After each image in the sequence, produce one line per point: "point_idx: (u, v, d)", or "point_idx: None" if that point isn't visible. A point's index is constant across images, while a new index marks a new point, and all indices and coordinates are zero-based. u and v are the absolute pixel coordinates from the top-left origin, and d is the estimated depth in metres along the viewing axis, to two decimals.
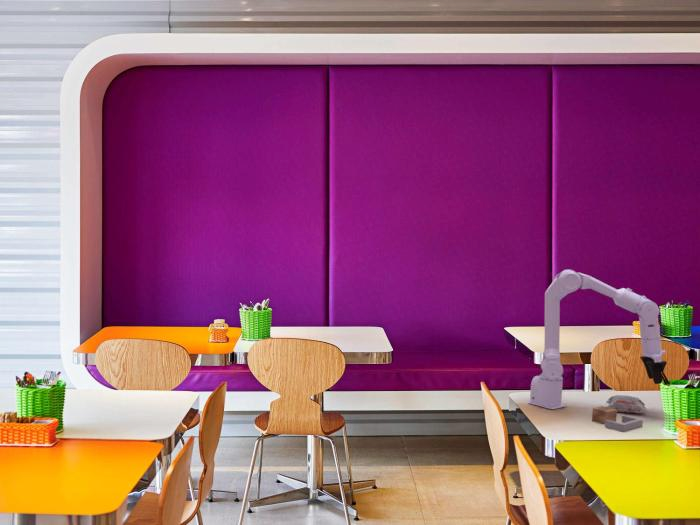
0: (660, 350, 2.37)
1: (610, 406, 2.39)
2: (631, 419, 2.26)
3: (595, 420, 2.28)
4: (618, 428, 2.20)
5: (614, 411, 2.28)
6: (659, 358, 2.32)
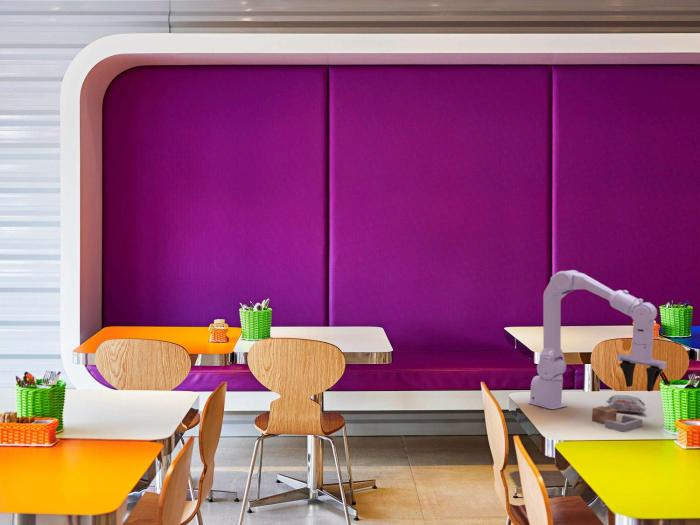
0: None
1: (610, 406, 2.40)
2: (631, 419, 2.26)
3: (595, 420, 2.28)
4: (618, 428, 2.20)
5: (614, 411, 2.28)
6: (665, 364, 2.22)
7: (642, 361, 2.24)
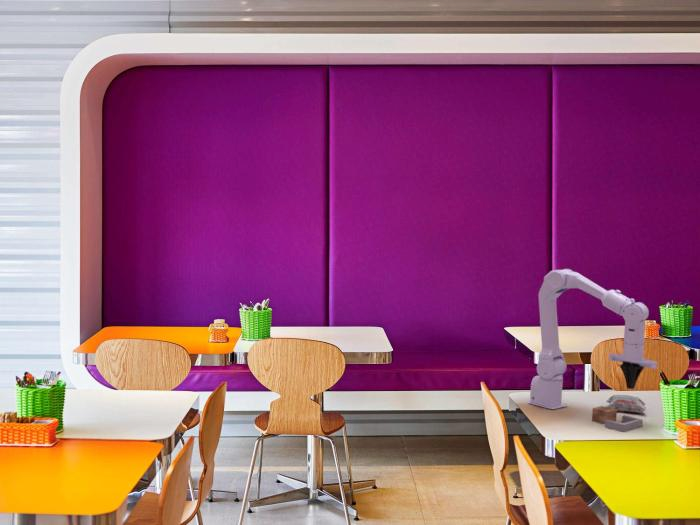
0: None
1: (610, 405, 2.40)
2: (631, 419, 2.26)
3: (595, 420, 2.28)
4: (618, 428, 2.20)
5: (614, 411, 2.28)
6: (656, 364, 2.23)
7: (633, 361, 2.25)
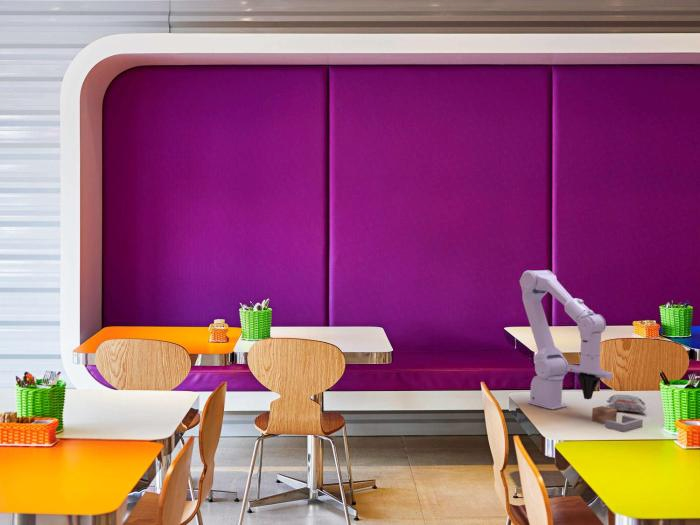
0: None
1: (610, 405, 2.41)
2: (631, 419, 2.26)
3: (595, 420, 2.28)
4: (618, 428, 2.20)
5: (614, 411, 2.28)
6: (611, 375, 2.27)
7: (589, 372, 2.30)
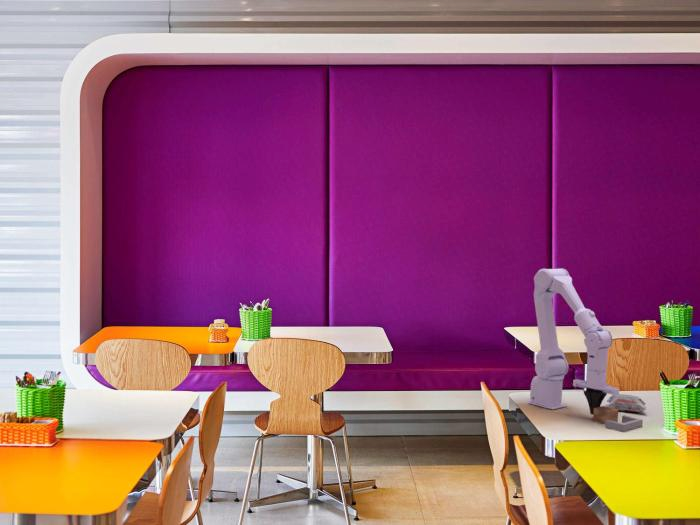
0: None
1: (610, 405, 2.41)
2: (631, 419, 2.26)
3: (596, 420, 2.28)
4: (618, 428, 2.20)
5: (615, 411, 2.27)
6: (618, 391, 2.26)
7: (596, 387, 2.28)
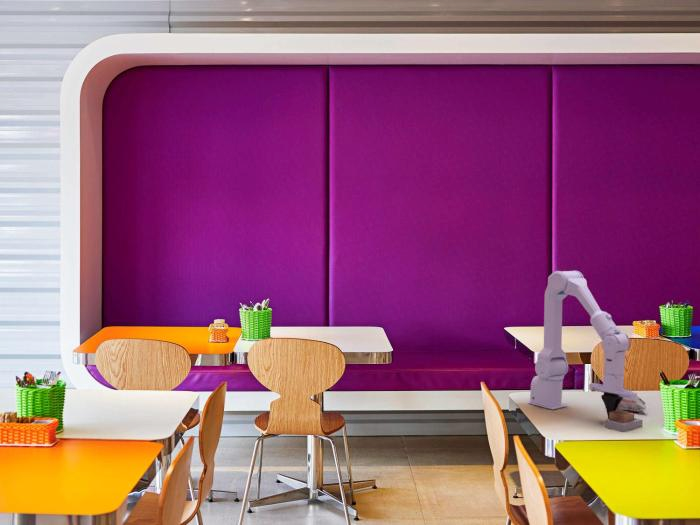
0: None
1: None
2: None
3: None
4: (618, 428, 2.20)
5: (631, 415, 2.23)
6: (636, 395, 2.21)
7: (613, 392, 2.23)
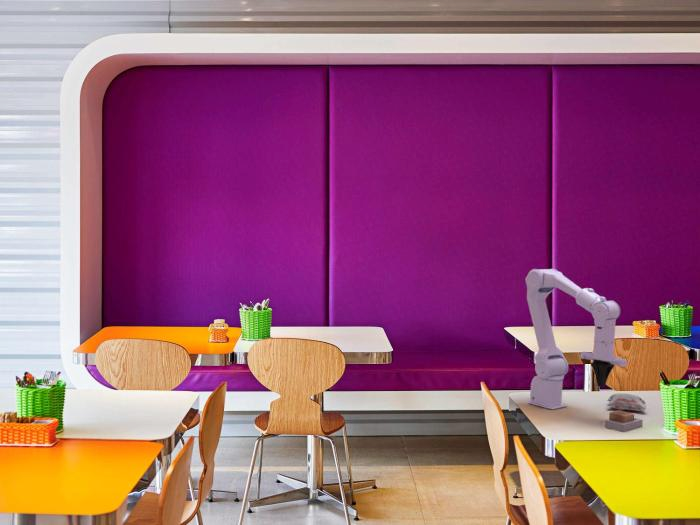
0: None
1: (610, 404, 2.42)
2: None
3: None
4: (618, 428, 2.20)
5: (631, 415, 2.23)
6: (626, 362, 2.24)
7: (603, 359, 2.26)
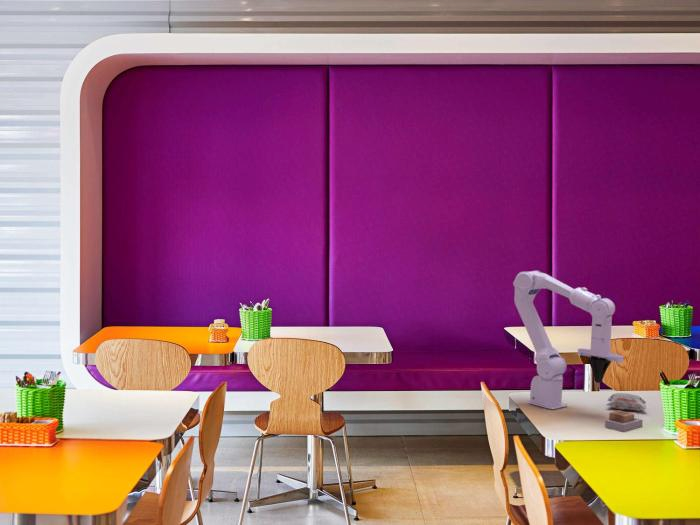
0: None
1: (610, 403, 2.43)
2: None
3: None
4: (618, 428, 2.20)
5: (631, 415, 2.23)
6: (622, 358, 2.29)
7: (600, 355, 2.32)
